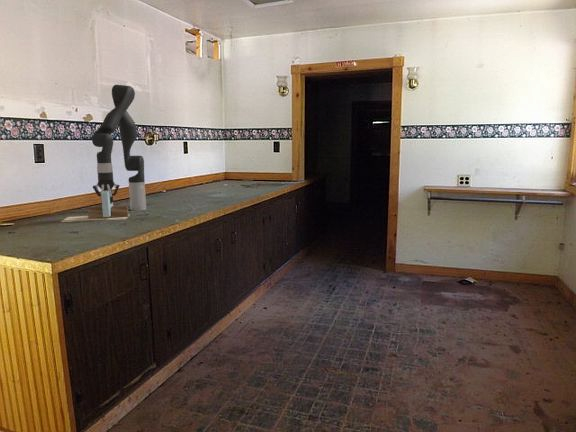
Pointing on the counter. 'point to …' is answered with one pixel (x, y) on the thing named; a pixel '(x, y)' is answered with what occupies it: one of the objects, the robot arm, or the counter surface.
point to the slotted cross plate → (106, 203)
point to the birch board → (85, 218)
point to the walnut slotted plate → (116, 212)
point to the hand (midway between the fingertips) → (107, 203)
